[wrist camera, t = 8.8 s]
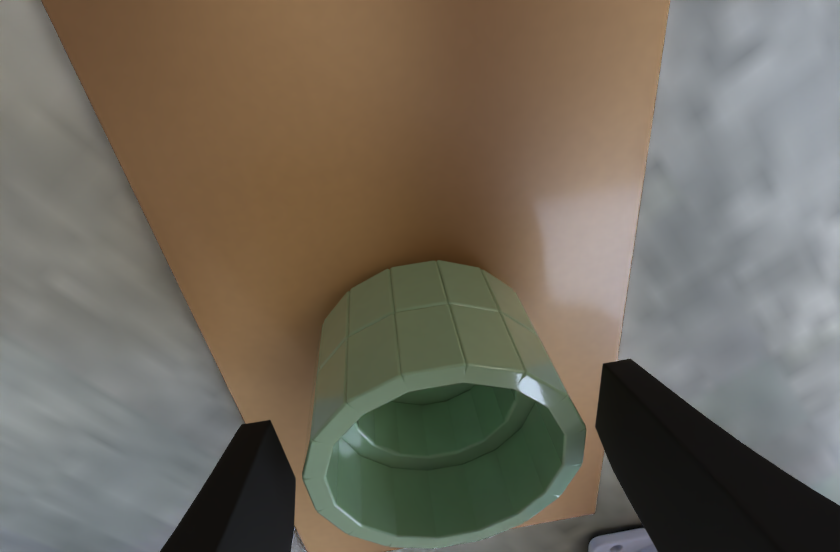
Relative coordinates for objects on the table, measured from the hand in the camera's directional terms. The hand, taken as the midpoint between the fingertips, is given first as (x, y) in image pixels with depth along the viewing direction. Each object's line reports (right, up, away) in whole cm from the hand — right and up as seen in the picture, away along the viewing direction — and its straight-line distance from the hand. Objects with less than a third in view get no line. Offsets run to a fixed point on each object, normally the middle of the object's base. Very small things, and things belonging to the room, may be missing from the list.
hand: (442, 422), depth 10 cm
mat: (0, +2, +3) cm, 3 cm away
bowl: (0, +1, +2) cm, 3 cm away
